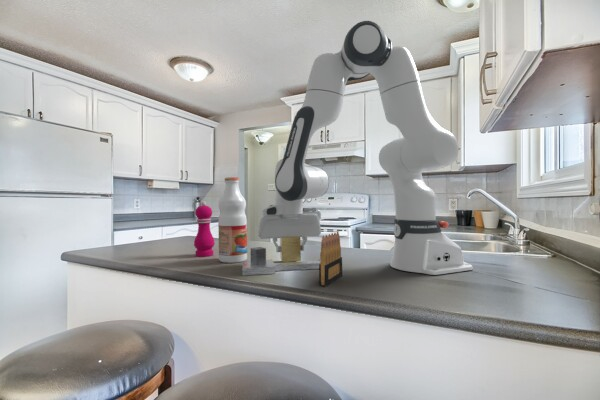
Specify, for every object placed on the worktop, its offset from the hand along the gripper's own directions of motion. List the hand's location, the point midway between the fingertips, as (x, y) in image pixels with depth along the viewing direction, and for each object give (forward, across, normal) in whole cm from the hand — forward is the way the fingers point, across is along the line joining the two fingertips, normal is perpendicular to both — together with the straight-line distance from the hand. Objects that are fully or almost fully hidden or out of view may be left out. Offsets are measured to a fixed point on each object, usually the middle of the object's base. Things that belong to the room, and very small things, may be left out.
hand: (290, 251), depth 96 cm
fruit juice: (+4, +19, -7) cm, 20 cm away
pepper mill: (+4, +30, -18) cm, 35 cm away
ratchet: (+4, +2, +8) cm, 9 cm away
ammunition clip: (+4, -8, +22) cm, 24 cm away
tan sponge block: (+3, 0, 0) cm, 3 cm away
